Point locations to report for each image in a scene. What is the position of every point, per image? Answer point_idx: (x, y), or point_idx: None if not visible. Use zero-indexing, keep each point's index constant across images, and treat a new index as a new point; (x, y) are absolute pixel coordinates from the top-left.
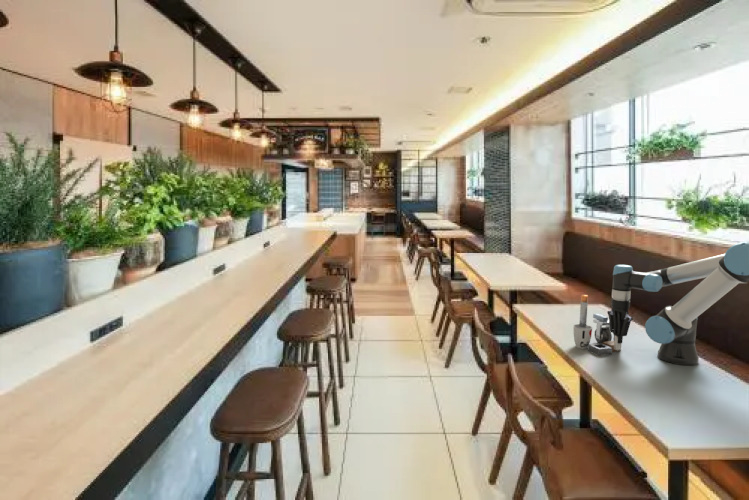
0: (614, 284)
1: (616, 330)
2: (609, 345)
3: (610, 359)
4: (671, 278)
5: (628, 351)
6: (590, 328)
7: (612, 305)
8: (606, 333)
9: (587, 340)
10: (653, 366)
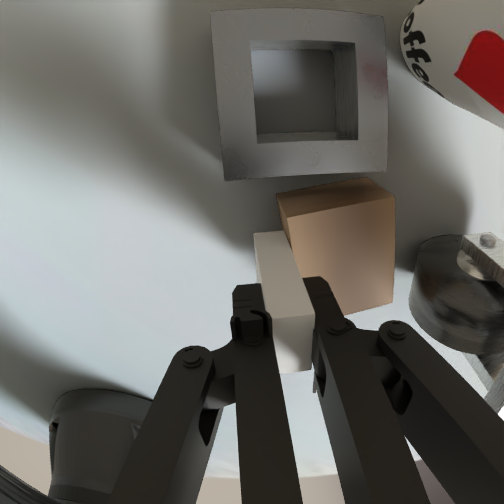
0: None
1: (328, 383)
2: (309, 209)
3: (110, 78)
4: None
5: None
6: None
7: None
8: (458, 305)
9: (429, 29)
10: (6, 292)
